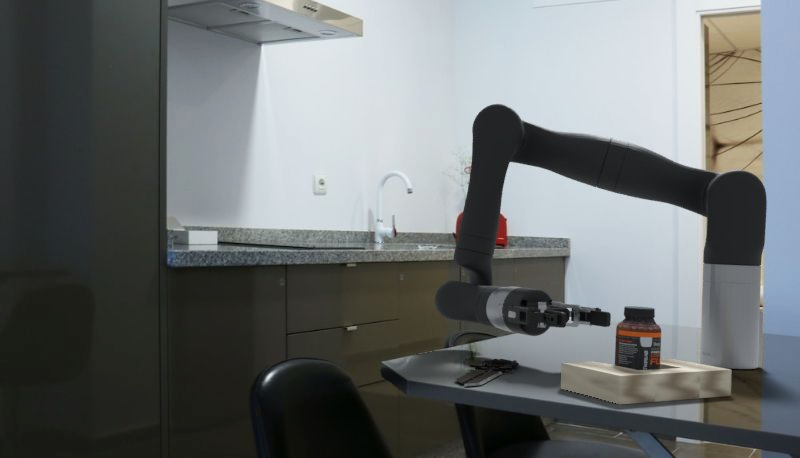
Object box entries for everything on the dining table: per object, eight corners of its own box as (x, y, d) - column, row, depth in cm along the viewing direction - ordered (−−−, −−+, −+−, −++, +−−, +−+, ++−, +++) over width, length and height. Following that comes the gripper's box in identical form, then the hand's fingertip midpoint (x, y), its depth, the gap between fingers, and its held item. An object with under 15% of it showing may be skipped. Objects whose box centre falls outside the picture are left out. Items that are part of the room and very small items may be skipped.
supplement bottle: (658, 396, 109) (661, 309, 110) (611, 391, 111) (614, 306, 112) (660, 389, 115) (663, 307, 115) (616, 385, 117) (619, 304, 117)
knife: (474, 392, 109) (474, 382, 109) (428, 387, 112) (429, 376, 112) (529, 369, 132) (530, 360, 132) (491, 365, 135) (491, 356, 135)
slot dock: (668, 382, 121) (668, 358, 121) (730, 395, 112) (731, 369, 112) (560, 389, 112) (561, 362, 112) (619, 404, 102) (620, 375, 102)
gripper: (484, 286, 133) (549, 294, 119) (554, 287, 140) (624, 294, 126) (482, 333, 133) (547, 346, 119) (552, 332, 140) (622, 344, 126)
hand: (587, 320), depth 122 cm, fingers open, 8 cm apart
